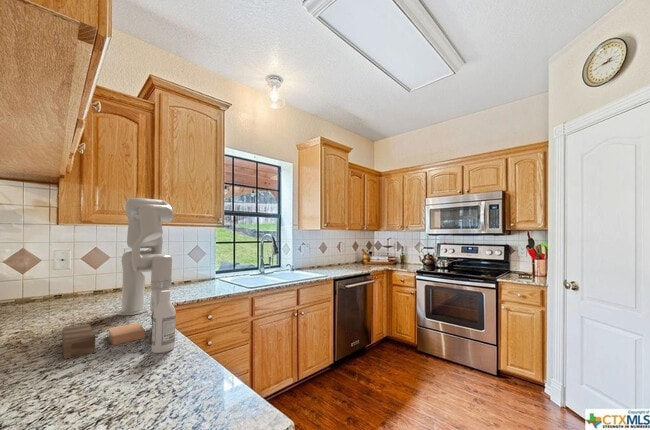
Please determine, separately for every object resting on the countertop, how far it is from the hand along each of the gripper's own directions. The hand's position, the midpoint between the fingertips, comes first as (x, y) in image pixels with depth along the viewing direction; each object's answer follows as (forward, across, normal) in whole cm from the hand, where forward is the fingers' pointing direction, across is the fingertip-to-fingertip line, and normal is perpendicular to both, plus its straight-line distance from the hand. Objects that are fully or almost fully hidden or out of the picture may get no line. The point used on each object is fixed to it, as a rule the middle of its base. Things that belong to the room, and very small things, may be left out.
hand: (159, 325), depth 117 cm
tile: (+2, 0, -12) cm, 12 cm away
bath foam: (+2, +24, -5) cm, 24 cm away
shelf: (+2, 0, -26) cm, 26 cm away
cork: (+2, +14, -4) cm, 15 cm away
